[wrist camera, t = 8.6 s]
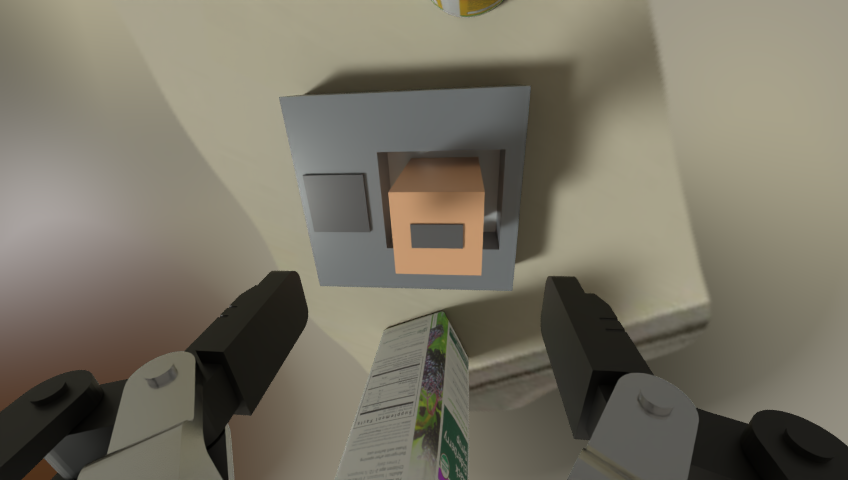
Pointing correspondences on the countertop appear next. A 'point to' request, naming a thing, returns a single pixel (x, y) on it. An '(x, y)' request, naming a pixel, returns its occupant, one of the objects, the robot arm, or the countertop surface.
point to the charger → (438, 216)
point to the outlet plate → (383, 163)
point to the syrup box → (412, 408)
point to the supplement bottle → (466, 7)
